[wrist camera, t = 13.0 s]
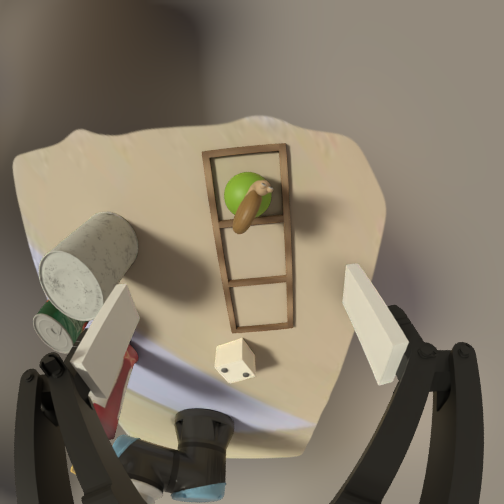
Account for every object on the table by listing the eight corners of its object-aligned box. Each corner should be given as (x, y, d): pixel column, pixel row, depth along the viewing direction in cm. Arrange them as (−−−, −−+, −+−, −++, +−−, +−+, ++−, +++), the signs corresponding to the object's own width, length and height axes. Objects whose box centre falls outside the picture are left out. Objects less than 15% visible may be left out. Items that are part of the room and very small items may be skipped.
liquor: (126, 331, 45) (74, 468, 20) (148, 357, 48) (112, 488, 23) (100, 338, 46) (47, 459, 21) (121, 362, 49) (82, 480, 24)
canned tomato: (88, 318, 44) (64, 360, 34) (58, 290, 41) (28, 328, 31) (106, 298, 41) (79, 342, 32) (73, 266, 39) (39, 306, 29)
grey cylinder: (103, 198, 34) (54, 233, 23) (150, 243, 37) (117, 294, 26) (74, 240, 36) (30, 282, 25) (117, 280, 40) (84, 332, 29)
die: (254, 354, 47) (255, 377, 43) (230, 362, 48) (229, 384, 44) (242, 337, 45) (242, 360, 41) (216, 346, 46) (214, 368, 41)
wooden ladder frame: (292, 325, 44) (292, 327, 44) (232, 330, 44) (231, 333, 44) (285, 143, 31) (285, 143, 31) (202, 151, 32) (201, 152, 31)
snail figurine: (280, 172, 33) (297, 199, 22) (257, 216, 36) (263, 261, 25) (240, 154, 32) (237, 171, 21) (219, 200, 34) (206, 238, 24)
